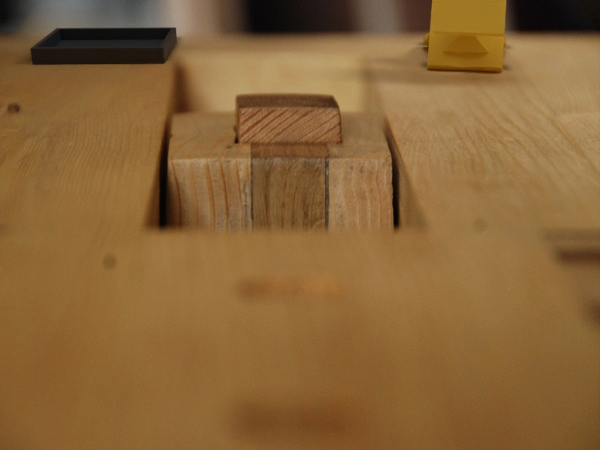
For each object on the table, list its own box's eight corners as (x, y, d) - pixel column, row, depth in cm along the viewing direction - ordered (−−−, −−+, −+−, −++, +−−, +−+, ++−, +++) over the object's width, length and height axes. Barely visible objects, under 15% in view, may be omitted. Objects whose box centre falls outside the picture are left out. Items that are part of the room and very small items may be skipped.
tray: (32, 64, 133) (30, 48, 132) (58, 42, 148) (56, 28, 147) (164, 63, 134) (163, 47, 133) (177, 41, 149) (176, 27, 148)
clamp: (502, 106, 141) (505, 40, 144) (519, 38, 117) (523, -39, 120) (418, 102, 143) (423, 38, 146) (418, 35, 119) (424, -41, 122)
